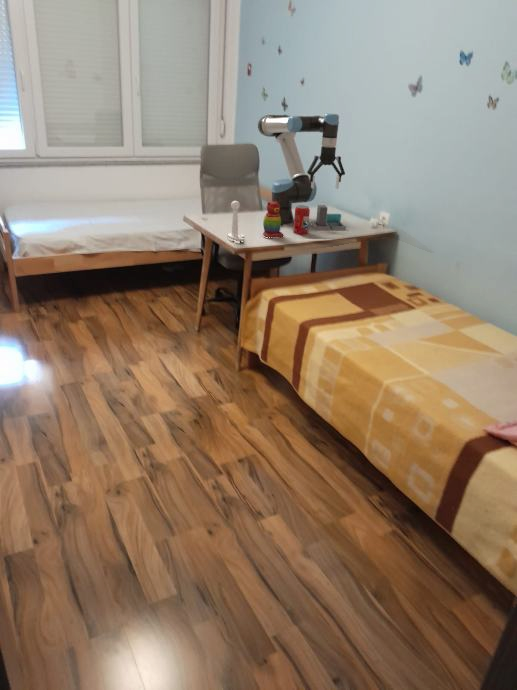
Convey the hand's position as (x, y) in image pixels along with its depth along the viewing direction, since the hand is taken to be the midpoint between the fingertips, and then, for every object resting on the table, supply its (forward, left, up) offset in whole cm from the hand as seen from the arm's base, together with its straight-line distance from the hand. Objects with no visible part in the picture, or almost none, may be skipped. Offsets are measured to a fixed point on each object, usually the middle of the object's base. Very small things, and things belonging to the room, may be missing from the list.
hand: (324, 188), depth 281 cm
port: (+9, +2, -22) cm, 23 cm away
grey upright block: (0, 0, -22) cm, 22 cm away
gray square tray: (+4, 0, -23) cm, 23 cm away
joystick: (-49, -19, -23) cm, 57 cm away
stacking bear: (-30, -11, -23) cm, 39 cm away
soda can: (-14, -9, -23) cm, 28 cm away
